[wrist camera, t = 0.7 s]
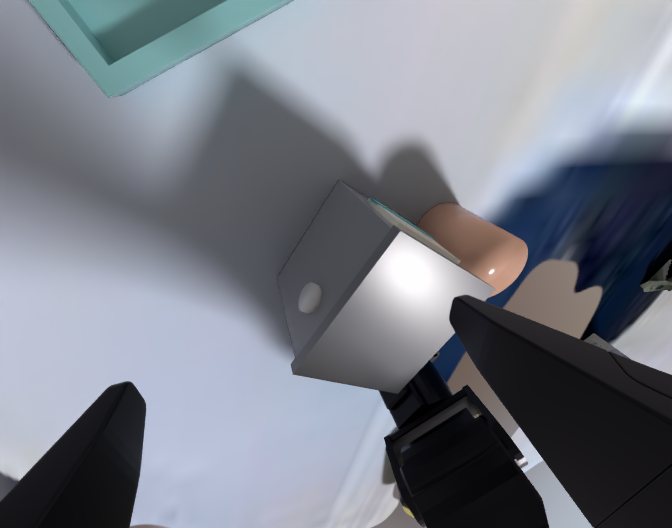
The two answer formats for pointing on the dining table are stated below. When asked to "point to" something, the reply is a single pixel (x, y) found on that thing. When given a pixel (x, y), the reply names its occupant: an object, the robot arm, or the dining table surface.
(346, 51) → the dining table surface
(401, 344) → the grey box
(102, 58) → the tray
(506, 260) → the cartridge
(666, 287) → the rose bouquet
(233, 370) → the dining table surface
